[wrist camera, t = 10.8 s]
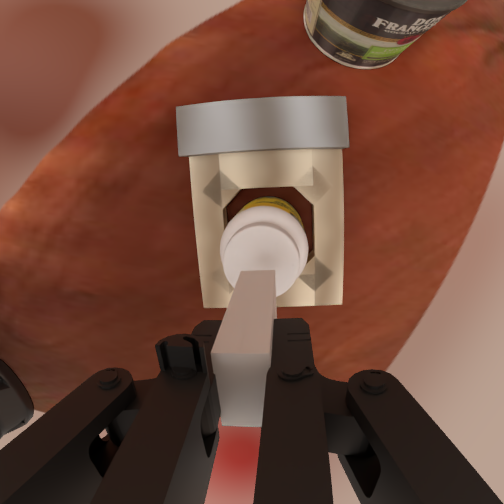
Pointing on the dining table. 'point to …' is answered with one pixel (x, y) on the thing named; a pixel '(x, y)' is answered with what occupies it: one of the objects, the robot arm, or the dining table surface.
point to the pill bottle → (265, 242)
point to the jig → (268, 181)
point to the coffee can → (371, 27)
